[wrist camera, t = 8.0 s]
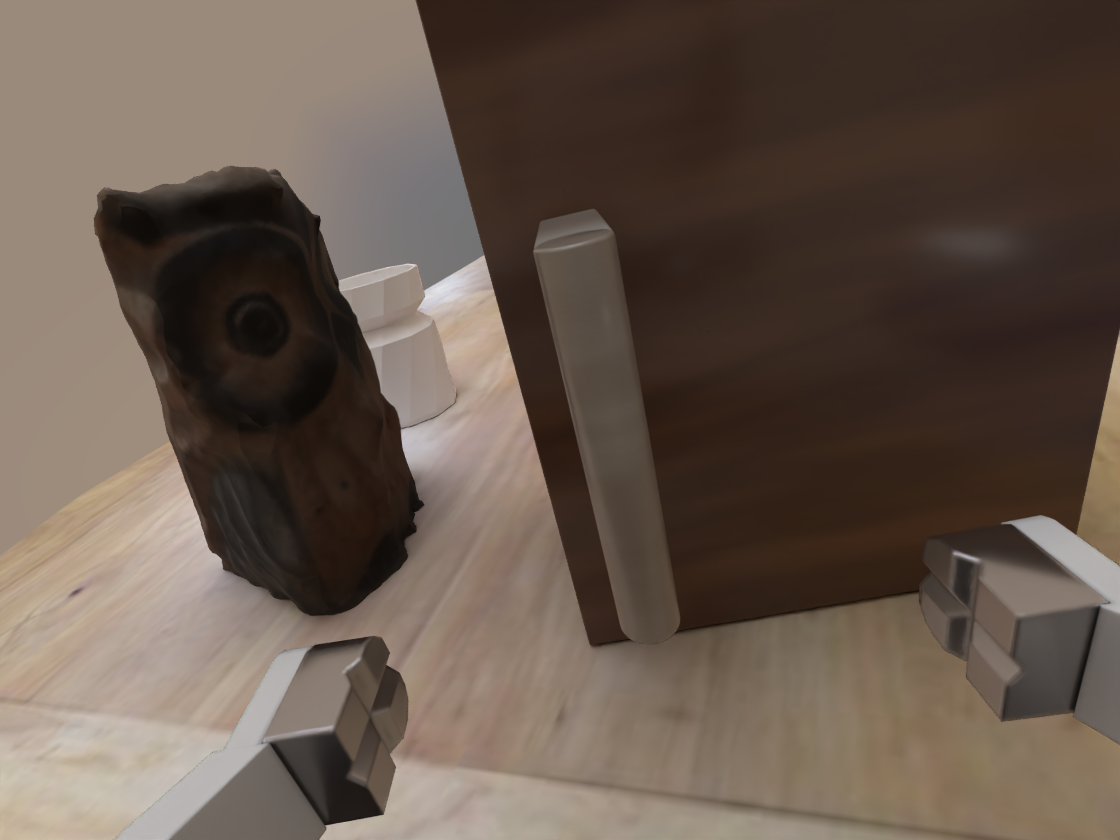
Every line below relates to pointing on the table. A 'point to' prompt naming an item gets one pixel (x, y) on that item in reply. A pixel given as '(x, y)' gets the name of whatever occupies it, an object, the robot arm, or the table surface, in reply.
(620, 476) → the door
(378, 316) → the vase
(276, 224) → the owl
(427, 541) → the table surface
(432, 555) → the table surface
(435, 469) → the table surface
